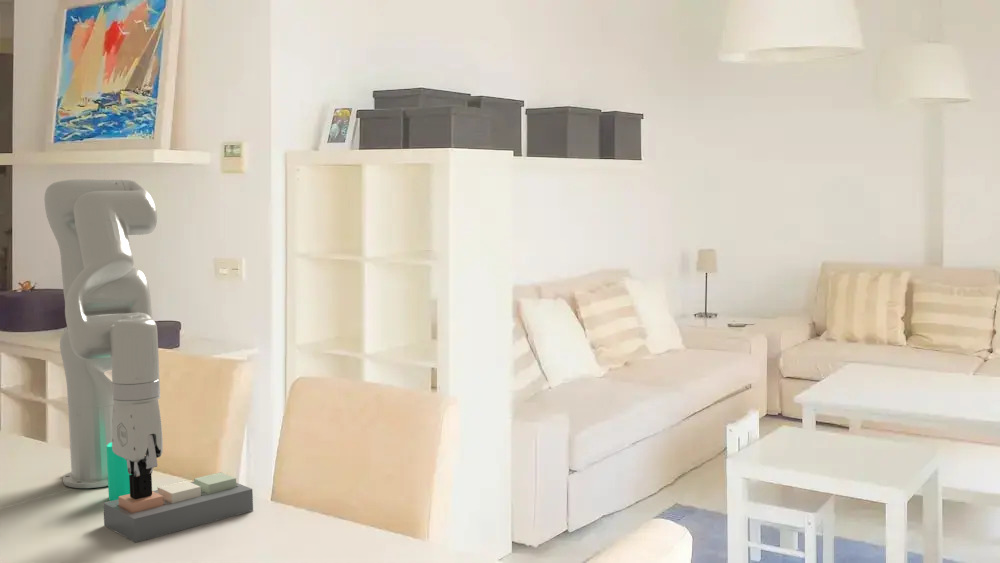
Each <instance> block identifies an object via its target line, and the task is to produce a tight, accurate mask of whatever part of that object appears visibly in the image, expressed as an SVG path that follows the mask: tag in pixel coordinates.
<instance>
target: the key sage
mask: <svg viewBox="0 0 1000 563" xmlns="http://www.w3.org/2000/svg"><path fill="white" fill-rule="evenodd" d="M193 482H194V484H195V485H198V486H200V487H201V491H202V492H205V493H207V494H212V493H216V492H220V491H224V490H228V489H232V488H236V483H237V477H235V476H232V475H230V474H226V473H224V472H222V471H221V472H217V473H212V474H208V475H203V476H199V477H196V478H193Z"/></svg>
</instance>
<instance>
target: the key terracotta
mask: <svg viewBox="0 0 1000 563" xmlns="http://www.w3.org/2000/svg"><path fill="white" fill-rule="evenodd" d="M153 491H154V490H152V495H151V496H148V497H144V498H140V499H134V498H131V497H130V494H127V495H123V496H119V507H121V508H123V509H125V510H127V511H129V512H131V513H135V512H139V511H143V510H147V509H151V508H155V507H159V506H163V505H164V504H163V496H162V495H160V494H158V493H155V492H153Z"/></svg>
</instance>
